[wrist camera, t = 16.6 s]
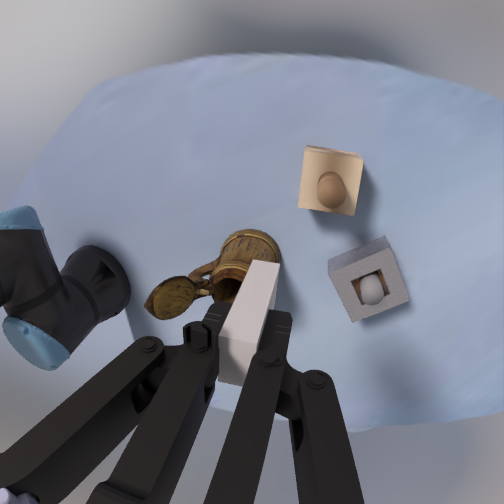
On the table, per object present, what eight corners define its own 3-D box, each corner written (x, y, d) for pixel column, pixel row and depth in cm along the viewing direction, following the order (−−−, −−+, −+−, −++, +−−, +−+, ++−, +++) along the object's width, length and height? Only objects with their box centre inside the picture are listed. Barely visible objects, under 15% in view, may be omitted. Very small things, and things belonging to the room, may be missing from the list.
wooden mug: (198, 216, 49) (141, 272, 33) (285, 236, 47) (264, 306, 32) (194, 266, 53) (144, 334, 37) (274, 286, 51) (251, 366, 36)
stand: (300, 194, 44) (294, 221, 35) (306, 145, 41) (302, 156, 31) (350, 202, 43) (357, 231, 33) (358, 153, 40) (369, 167, 30)
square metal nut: (351, 307, 48) (352, 322, 44) (327, 260, 45) (327, 273, 42) (404, 285, 44) (409, 300, 41) (385, 235, 42) (390, 247, 38)
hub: (339, 284, 49) (340, 314, 42) (348, 241, 46) (352, 267, 39) (382, 290, 48) (390, 321, 41) (394, 249, 45) (405, 275, 38)
